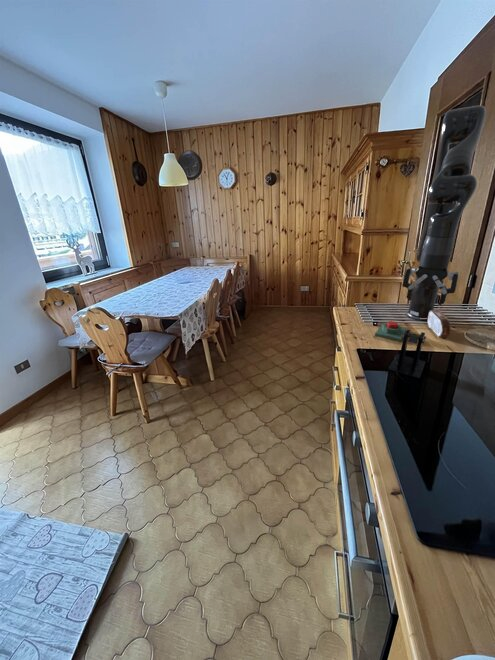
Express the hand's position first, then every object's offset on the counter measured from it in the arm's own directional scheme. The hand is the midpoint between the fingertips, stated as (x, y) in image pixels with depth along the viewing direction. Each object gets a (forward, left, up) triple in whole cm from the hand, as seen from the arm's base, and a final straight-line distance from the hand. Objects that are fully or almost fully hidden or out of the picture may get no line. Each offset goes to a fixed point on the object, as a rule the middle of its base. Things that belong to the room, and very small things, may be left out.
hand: (424, 302), depth 91 cm
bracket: (+11, 0, -20) cm, 22 cm away
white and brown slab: (-21, +4, -20) cm, 29 cm away
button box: (-10, -10, -20) cm, 24 cm away
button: (-10, -10, -16) cm, 21 cm away
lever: (+6, 0, -12) cm, 13 cm away
